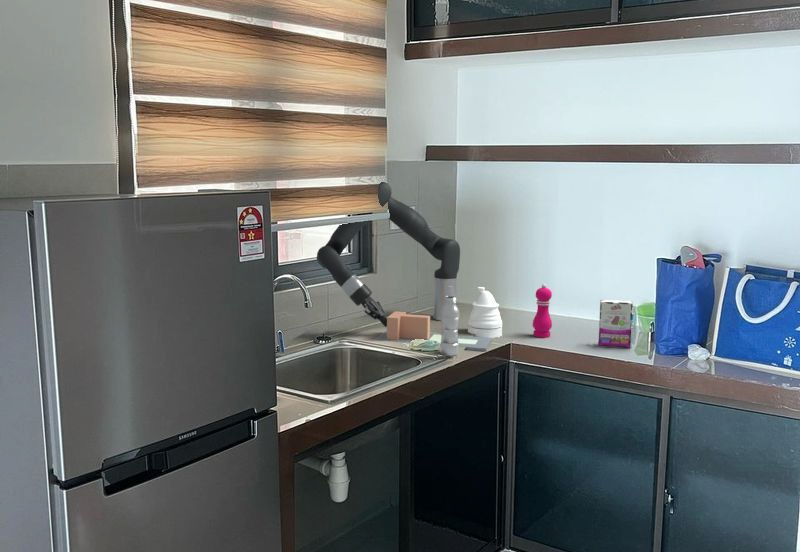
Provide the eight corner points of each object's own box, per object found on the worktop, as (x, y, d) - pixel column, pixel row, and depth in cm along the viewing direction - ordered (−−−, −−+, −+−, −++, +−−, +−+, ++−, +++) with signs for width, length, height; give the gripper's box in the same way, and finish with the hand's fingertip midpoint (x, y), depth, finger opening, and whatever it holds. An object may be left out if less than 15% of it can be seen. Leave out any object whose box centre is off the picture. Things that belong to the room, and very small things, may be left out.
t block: (394, 332, 286) (395, 311, 284) (431, 335, 282) (432, 313, 281) (386, 339, 274) (387, 317, 273) (425, 342, 271) (425, 320, 270)
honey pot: (473, 338, 282) (475, 290, 280) (463, 331, 295) (465, 285, 292) (506, 337, 285) (508, 290, 282) (495, 330, 297) (497, 284, 295)
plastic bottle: (446, 359, 251) (447, 299, 248) (435, 354, 257) (437, 296, 254) (462, 357, 254) (464, 298, 251) (452, 352, 260) (453, 294, 257)
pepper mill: (555, 336, 289) (557, 283, 286) (544, 339, 284) (547, 285, 281) (538, 333, 294) (541, 281, 291) (528, 335, 289) (530, 283, 286)
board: (386, 332, 289) (386, 330, 289) (492, 340, 280) (492, 337, 280) (374, 342, 273) (374, 340, 273) (486, 351, 263) (486, 348, 263)
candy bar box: (629, 345, 276) (632, 300, 274) (630, 348, 271) (633, 303, 269) (597, 343, 279) (600, 298, 276) (597, 346, 274) (600, 301, 271)
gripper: (358, 286, 273) (390, 321, 272) (368, 280, 286) (399, 314, 285) (343, 299, 275) (376, 335, 274) (354, 293, 288) (385, 327, 287)
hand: (388, 324), depth 280 cm, fingers closed
